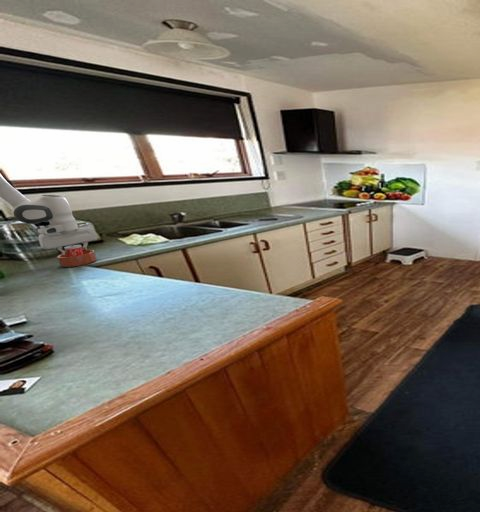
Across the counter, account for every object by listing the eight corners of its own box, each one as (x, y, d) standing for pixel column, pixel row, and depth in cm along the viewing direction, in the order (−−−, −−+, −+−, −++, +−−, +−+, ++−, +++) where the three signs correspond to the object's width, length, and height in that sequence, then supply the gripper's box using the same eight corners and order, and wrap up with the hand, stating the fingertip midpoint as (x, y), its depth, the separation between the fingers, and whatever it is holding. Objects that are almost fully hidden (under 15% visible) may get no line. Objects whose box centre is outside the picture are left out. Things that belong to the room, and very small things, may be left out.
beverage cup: (68, 265, 141) (57, 239, 137) (74, 261, 146) (64, 236, 142) (83, 263, 143) (73, 237, 139) (89, 259, 149) (80, 235, 144)
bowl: (57, 269, 136) (53, 259, 135) (65, 262, 146) (61, 253, 145) (94, 263, 144) (90, 254, 142) (99, 257, 154) (95, 248, 152)
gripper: (88, 222, 149) (97, 246, 153) (32, 230, 131) (44, 257, 136) (94, 223, 146) (103, 247, 151) (38, 231, 129) (50, 259, 133)
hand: (75, 252), depth 143 cm, fingers closed on beverage cup, 6 cm apart
